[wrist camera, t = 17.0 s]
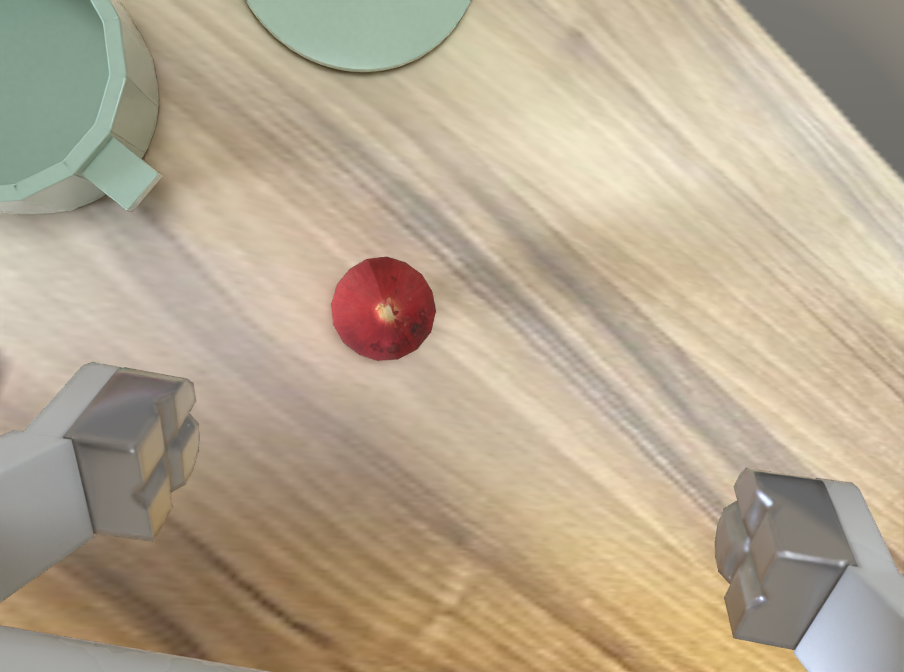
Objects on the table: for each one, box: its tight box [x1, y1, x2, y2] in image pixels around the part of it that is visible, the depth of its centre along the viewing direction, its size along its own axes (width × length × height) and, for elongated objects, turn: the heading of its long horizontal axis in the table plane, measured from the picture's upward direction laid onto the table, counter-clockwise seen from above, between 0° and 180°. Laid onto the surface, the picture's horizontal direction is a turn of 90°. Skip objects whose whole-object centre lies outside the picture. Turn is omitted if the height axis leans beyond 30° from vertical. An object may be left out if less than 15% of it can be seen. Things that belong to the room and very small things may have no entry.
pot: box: [0, 0, 162, 215], centre depth 38 cm, size 14×19×8 cm
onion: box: [331, 257, 436, 361], centre depth 42 cm, size 6×6×8 cm
